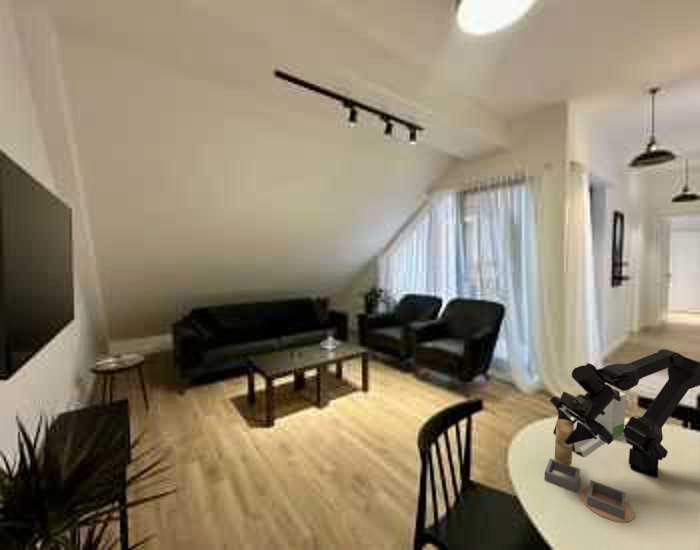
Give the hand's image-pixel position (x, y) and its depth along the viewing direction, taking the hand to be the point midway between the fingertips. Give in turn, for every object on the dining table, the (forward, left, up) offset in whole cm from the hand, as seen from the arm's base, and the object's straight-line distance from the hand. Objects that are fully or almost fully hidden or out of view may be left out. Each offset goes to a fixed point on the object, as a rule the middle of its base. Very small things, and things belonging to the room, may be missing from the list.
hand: (560, 438), depth 101 cm
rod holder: (-1, -1, -13) cm, 13 cm away
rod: (-1, -1, -7) cm, 7 cm away
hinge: (-4, -26, -13) cm, 29 cm away
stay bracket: (-12, +3, -13) cm, 18 cm away
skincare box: (-10, -40, -13) cm, 43 cm away
